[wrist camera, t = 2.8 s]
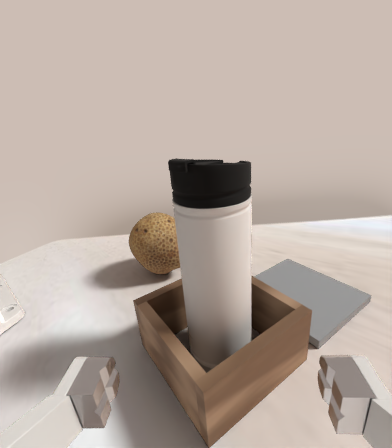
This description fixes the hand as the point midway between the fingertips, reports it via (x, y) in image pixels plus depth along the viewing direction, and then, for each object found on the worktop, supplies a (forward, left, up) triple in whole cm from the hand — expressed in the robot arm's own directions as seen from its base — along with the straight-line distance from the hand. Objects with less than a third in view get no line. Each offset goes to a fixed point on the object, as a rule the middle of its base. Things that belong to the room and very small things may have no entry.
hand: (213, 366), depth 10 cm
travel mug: (-10, +8, -13) cm, 18 cm away
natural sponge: (-28, +11, -13) cm, 33 cm away
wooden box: (-10, +8, -13) cm, 18 cm away
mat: (-10, +21, -13) cm, 27 cm away
